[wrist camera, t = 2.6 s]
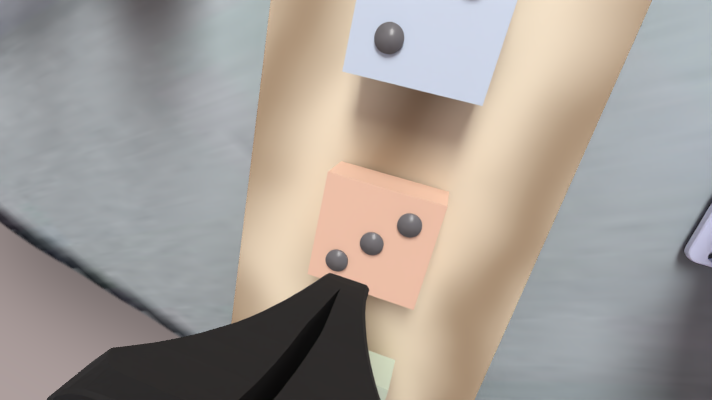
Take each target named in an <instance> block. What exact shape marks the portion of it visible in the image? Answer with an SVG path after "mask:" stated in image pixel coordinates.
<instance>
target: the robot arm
mask: <svg viewBox="0 0 712 400" xmlns="http://www.w3.org/2000/svg"><path fill="white" fill-rule="evenodd" d="M684 252H685V255H686V256H687V257H688V258H689V259H690V260H691V261H693V262H695V263H698V264H701V265H705V266H708V267H712V258H710V259H709V258H708V255H709V254H710V253H712V203H711V205H710V207H709V208H708V210H707V212H706V213H705V215H704V217H703V218H702V220H701V222H700V223H699V225H698V227H697V228H696V230H695V232H694V233H693V235H692V237H691V238H690V240H689V242H688V243H687V245H686V247H685V250H684ZM368 293H369V288H368V286H367V285H365V284H362V283H359V282H356V281H353V280H350V279H347V278H345V277H342V276H339V275H336V274H333V273H328V274H326V275H324V276H323V277H321V278H320V279H318V280H317V281H315V282H314V283H312V284H311V285H309V286H308V287H306V288H304V289H303V290H301V291H299V292H298V293H296V294H294V295H293V296H291V297H289V298H287V299H286V300H284V301H282V302H280V303H278V304H276V305H274V306H272V307H270V308H268V309H266V310H264V311H262V312H260V313H258V314H255V315H253V316H251V317H248V318H246V319H243V320H241V321H238V322H235V323H232V324H229V325H226V326H223V327H219V328H216V329H213V330H209V331H206V332H203V333H199V334H195V335H190V336H186V337H181V338H176V339H171V340H166V341H161V342H155V343H148V344H140V345H132V346H125V347H116V348H111V349H109V350H108V351H107V352H105V353H104V354H102V355H101V356H99V357H98V358H97V359H95V360H94V361H93V362H91V363H90V364H89V365H88V366H86V367H85V368H84V369H83V370H81V372H79V373H78V374H77V375H75V376H74V377H73V378H71V379H70V380H69V381H68V382H67V383H65V384H64V385H63V386H62V387H60V388H59V389H58V390H57V391H55V392H54V393H53V394H52V395H51V396H49V397H48V398H47V400H381V399H380V397H379V394H378V390H377V387H376V383H375V379H374V376H373V371H372V367H371V362H370V357H369V351H368V344H367V335H366V319H365V310H366V300H367V296H368Z"/></svg>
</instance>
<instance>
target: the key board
mask: <svg viewBox="0 0 712 400" xmlns="http://www.w3.org/2000/svg"><path fill="white" fill-rule="evenodd" d="M651 2H652V0H517V3H516V6H515V9H514V12H513V15H512V18H511V21H510V24H509V27H508V30H507V33H506V36H505V39H504V42H503V45H502V49H501V52H500V55H499V58H498V61H497V64H496V67H495V70H494V73H493V76H492V79H491V82H490V85H489V88H488V91H487V94H486V97H485V100H484V103H483V106H480V105H476V104H472V103H468V102H464V101H460V100H456V99H452V98H448V97H444V96H440V95H436V94H431V93H427V92H423V91H419V90H415V89H411V88H407V87H403V86H399V85H395V84H391V83H387V82H383V81H379V80H375V79H371V78H367V77H363V76H358V75H354V74H350V73H346V72H342V70H343V65H344V60H345V55H346V50H347V45H348V40H349V34H350V29H351V24H352V19H353V14H354V9H355V4H356V0H271V3H270V12H269V20H268V28H267V36H266V44H265V52H264V61H263V69H262V77H261V85H260V93H259V102H258V110H257V118H256V126H255V134H254V143H253V151H252V159H251V167H250V175H249V183H248V192H247V200H246V208H245V216H244V224H243V233H242V241H241V249H240V257H239V265H238V274H237V282H236V290H235V298H234V306H233V314H232V323H235V322H238V321H241V320H243V319H246V318H248V317H251V316H253V315H255V314H258V313H260V312H262V311H264V310H266V309H268V308H270V307H272V306H274V305H276V304H278V303H280V302H282V301H284V300H286V299H287V298H289V297H291V296H293V295H294V294H296V293H298V292H299V291H301V290H303V289H304V288H306V287H308V286H309V285H311V284H312V283H314V282H315V281H317V280H318V279H320V278H318V277H315V276H312V275H309V274H308V269H309V264H310V259H311V254H312V249H313V244H314V239H315V234H316V229H317V224H318V219H319V214H320V209H321V204H322V199H323V194H324V189H325V184H326V179H327V174H328V171H329V170H331V169H332V168H333V167H335V166H336V165H337V164H338V163H340V162H341V161H343V162H346V163H350V164H353V165H357V166H360V167H364V168H367V169H371V170H374V171H378V172H381V173H385V174H388V175H392V176H395V177H399V178H402V179H406V180H409V181H413V182H416V183H420V184H423V185H427V186H430V187H434V188H437V189H441V190H444V191H448V192H449V198H448V207H447V210H446V213H445V216H444V219H443V222H442V225H441V228H440V231H439V234H438V237H437V241H436V244H435V247H434V250H433V253H432V256H431V259H430V262H429V265H428V268H427V271H426V274H425V277H424V280H423V283H422V286H421V289H420V292H419V295H418V298H417V301H416V304H415V307H414V310H412V309H409V308H406V307H403V306H400V305H397V304H394V303H391V302H389V301H386V300H383V299H380V298H377V297H374V296H371V295H368V296H367V300H366V310H365V319H366V335H367V344H368V350H369V351H372V352H375V353H377V354H380V355H383V356H386V357H388V358H391V359H394V360H395V363H394V368H393V372H392V377H391V381H390V386H389V390H388V393H387V396H386V399H385V400H474V399H475V397H476V395H477V393H478V390H479V388H480V386H481V384H482V381H483V379H484V377H485V375H486V372H487V370H488V368H489V366H490V364H491V361H492V359H493V357H494V355H495V352H496V350H497V348H498V346H499V343H500V341H501V339H502V337H503V334H504V332H505V330H506V328H507V325H508V323H509V321H510V319H511V316H512V314H513V312H514V310H515V307H516V305H517V303H518V301H519V298H520V296H521V294H522V292H523V289H524V287H525V285H526V283H527V280H528V278H529V276H530V274H531V271H532V269H533V267H534V265H535V262H536V260H537V258H538V256H539V253H540V251H541V249H542V247H543V244H544V242H545V240H546V238H547V235H548V233H549V231H550V229H551V226H552V224H553V222H554V220H555V217H556V215H557V213H558V211H559V208H560V206H561V204H562V202H563V199H564V197H565V195H566V193H567V190H568V188H569V186H570V184H571V181H572V179H573V177H574V175H575V172H576V170H577V168H578V166H579V163H580V161H581V159H582V157H583V154H584V152H585V150H586V148H587V145H588V143H589V141H590V139H591V136H592V134H593V132H594V130H595V127H596V125H597V123H598V121H599V119H600V116H601V114H602V112H603V110H604V107H605V105H606V103H607V101H608V98H609V96H610V94H611V92H612V89H613V87H614V85H615V83H616V80H617V78H618V76H619V74H620V71H621V69H622V67H623V65H624V62H625V60H626V58H627V56H628V53H629V51H630V49H631V47H632V44H633V42H634V40H635V38H636V35H637V33H638V31H639V29H640V26H641V24H642V22H643V20H644V17H645V15H646V13H647V11H648V8H649V6H650V4H651ZM232 323H231V324H232Z"/></svg>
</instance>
